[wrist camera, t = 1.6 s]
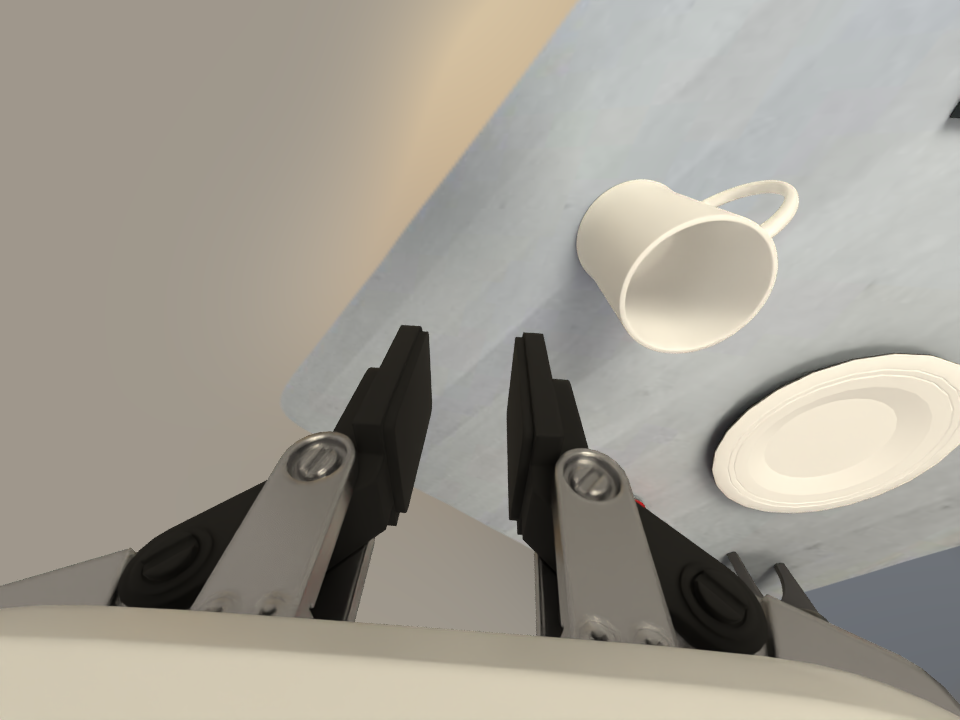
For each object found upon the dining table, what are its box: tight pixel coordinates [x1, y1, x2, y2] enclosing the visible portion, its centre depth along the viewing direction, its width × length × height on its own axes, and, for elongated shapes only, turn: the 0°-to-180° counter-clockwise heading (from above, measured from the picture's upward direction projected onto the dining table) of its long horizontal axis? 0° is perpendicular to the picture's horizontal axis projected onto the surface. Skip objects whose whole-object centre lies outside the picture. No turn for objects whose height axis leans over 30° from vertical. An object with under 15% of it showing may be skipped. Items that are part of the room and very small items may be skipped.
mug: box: [577, 180, 799, 353], centre depth 23 cm, size 12×8×12 cm
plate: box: [712, 353, 960, 513], centre depth 39 cm, size 25×25×2 cm
